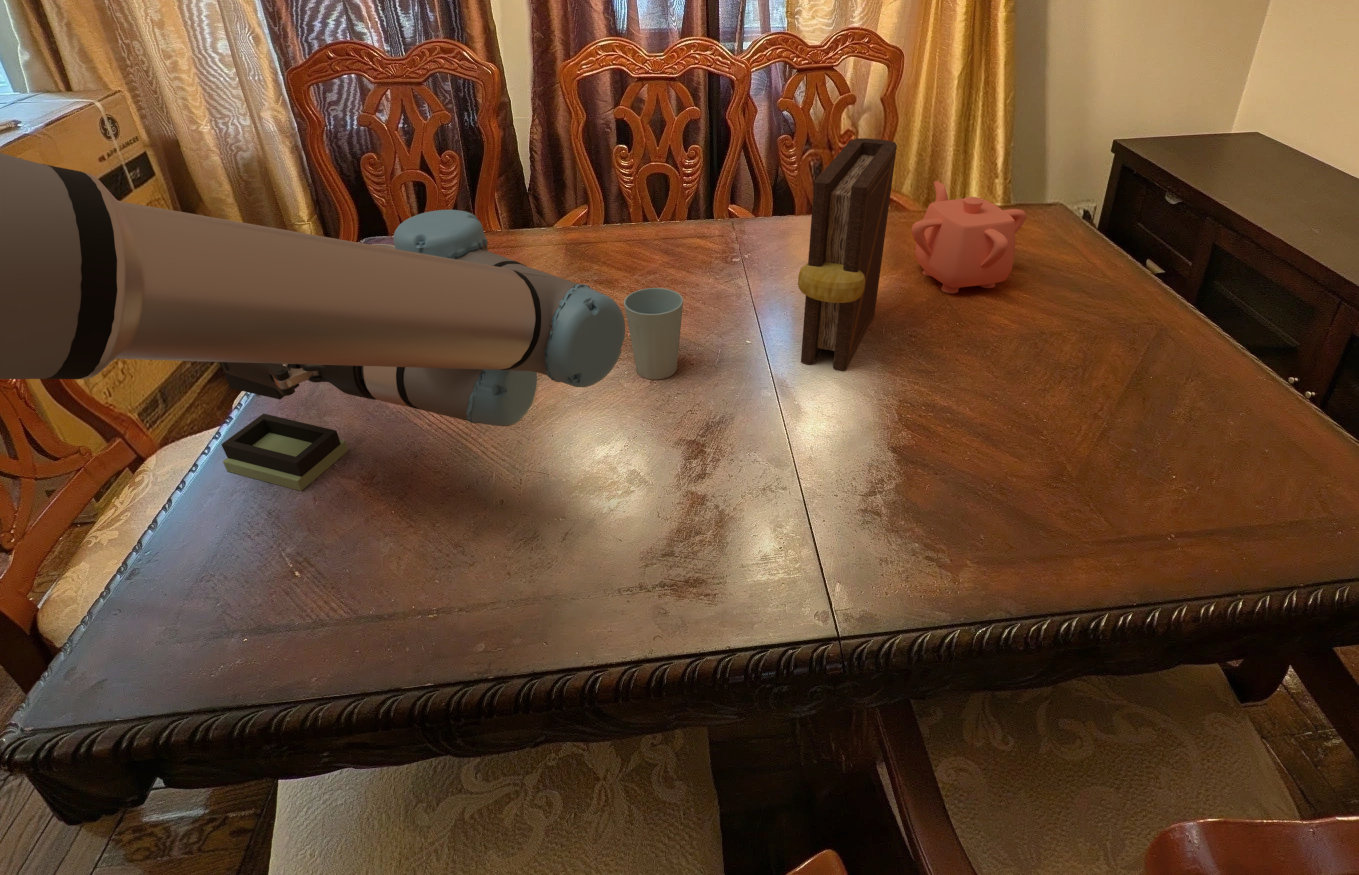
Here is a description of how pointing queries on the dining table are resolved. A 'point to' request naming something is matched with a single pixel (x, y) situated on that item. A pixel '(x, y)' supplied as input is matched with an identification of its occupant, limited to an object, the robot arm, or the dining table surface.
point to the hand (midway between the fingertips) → (205, 327)
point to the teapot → (966, 241)
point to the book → (846, 249)
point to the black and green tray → (282, 451)
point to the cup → (654, 330)
